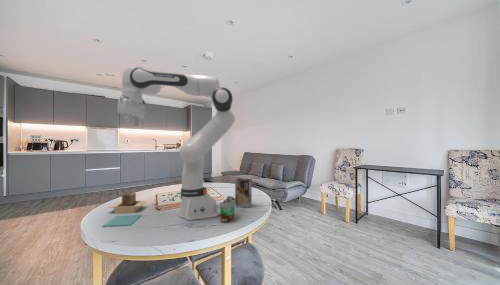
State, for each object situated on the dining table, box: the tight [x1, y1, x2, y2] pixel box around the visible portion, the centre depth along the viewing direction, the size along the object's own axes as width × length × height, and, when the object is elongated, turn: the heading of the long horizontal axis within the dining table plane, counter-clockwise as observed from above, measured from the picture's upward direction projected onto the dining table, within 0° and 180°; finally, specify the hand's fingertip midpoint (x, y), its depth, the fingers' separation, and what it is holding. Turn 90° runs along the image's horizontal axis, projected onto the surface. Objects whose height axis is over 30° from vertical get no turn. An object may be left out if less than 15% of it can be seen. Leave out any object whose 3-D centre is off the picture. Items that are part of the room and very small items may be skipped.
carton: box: [108, 200, 148, 214], centre depth 109 cm, size 16×10×4 cm, turn 97°
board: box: [102, 214, 142, 228], centre depth 93 cm, size 12×12×1 cm
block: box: [121, 192, 137, 206], centre depth 109 cm, size 5×5×9 cm
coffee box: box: [234, 177, 253, 208], centre depth 117 cm, size 9×6×16 cm
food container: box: [219, 195, 236, 224], centre depth 96 cm, size 12×6×10 cm, turn 168°
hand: (132, 125), depth 100 cm, fingers open, 8 cm apart
